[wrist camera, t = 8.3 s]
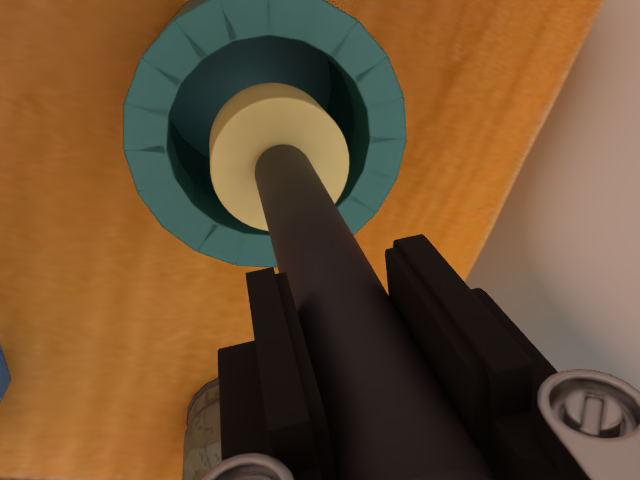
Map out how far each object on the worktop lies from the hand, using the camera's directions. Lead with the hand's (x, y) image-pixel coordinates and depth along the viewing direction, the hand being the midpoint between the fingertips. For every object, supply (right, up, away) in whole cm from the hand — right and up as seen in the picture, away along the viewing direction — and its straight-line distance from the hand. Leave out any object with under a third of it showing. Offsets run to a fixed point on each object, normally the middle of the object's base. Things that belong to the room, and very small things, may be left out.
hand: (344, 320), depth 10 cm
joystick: (-2, +5, +11) cm, 13 cm away
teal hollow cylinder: (-5, +11, +22) cm, 25 cm away
